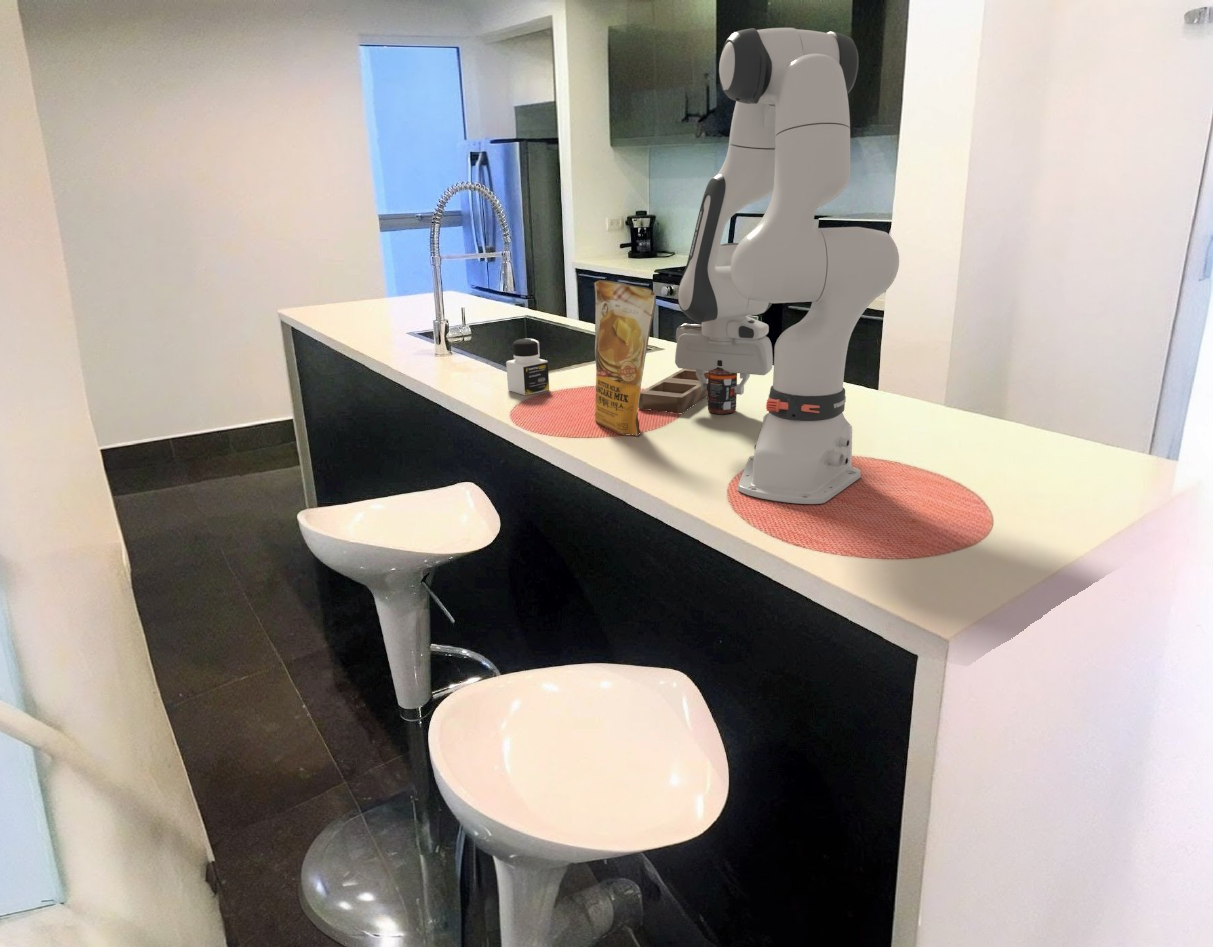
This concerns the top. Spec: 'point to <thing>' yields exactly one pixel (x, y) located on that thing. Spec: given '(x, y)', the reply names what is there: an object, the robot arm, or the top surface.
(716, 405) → the supplement bottle
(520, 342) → the medicine bottle
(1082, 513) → the top surface
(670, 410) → the rail
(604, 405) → the pancake mix bag
